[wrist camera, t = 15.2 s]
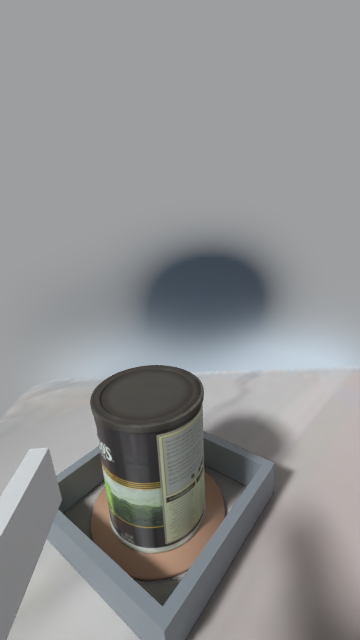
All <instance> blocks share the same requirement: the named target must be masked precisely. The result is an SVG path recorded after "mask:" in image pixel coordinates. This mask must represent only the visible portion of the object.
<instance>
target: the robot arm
mask: <svg viewBox="0 0 360 640" xmlns="http://www.w3.org/2000/svg"><path fill="white" fill-rule="evenodd" d="M61 501H62V497H61V493H60V489H59V486H58V482H57V478H56V474H55V470H54V466H53V463H52V459H51V455H50V451H49V448H36V449H29V451H28V453H27V454H26V456H25V458H24V459H23V461H22V462H21V464H20V466H19V467H18V469H17V471H16V472H15V474H14V475H13V477H12V479H11V480H10V482H9V483H8V485H7V487H6V488H5V490H4V492H3V493H2V495H1V496H0V640H7V637H8V635H9V632H10V629H11V627H12V624H13V622H14V619H15V617H16V614H17V612H18V609H19V607H20V604H21V602H22V599H23V597H24V594H25V592H26V589H27V587H28V584H29V582H30V579H31V577H32V574H33V572H34V569H35V567H36V564H37V561H38V559H39V556H40V554H41V551H42V549H43V546H44V544H45V541H46V539H47V536H48V534H49V531H50V529H51V526H52V524H53V521H54V519H55V516H56V514H57V511H58V509H59V506H60V504H61Z"/></svg>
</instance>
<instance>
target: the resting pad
mask: <svg viewBox="0 0 360 640" xmlns="http://www.w3.org/2000/svg"><path fill="white" fill-rule="evenodd" d="M204 481H205V499H206V512H205V517H204V520H203V522H202V525H201V527H200V528H199V530H198V531H197V532H196V534H195V535H194V536H193V537H192V538H191V539H190V540H189V541H187V542H186V543H185V544H183V545H181V546H180V547H178V548H176V549H174V550H171V551H168V552H163V553H153V554H151V553H143V552H139V551H136V550H133V549H131V548H129V547H127V546H126V545H124V544H123V543H122V542H121V541H120V540H119V539H118V538H117V536H116V535H115V533H114V532H113V530H112V527H111V524H110V518H109V507H108V501H107V494H106V487H104V488H103V490H102V491H101V493H100V494H99V496H98V498H97V500H96V502H95V505H94V507H93V511H92V515H91V533H92V538H93V542H94V543H95V544H96V545H97V546H98V547H99V548H100V549H101V550H102V551H104V552H105V553H106V554H107V555H108V556H109V557H110V558H111V559H112V560H113V561H114V562H115V563H116V564H118V565H119V566H120V567H121V568H122V569H123V570H124V571H125V572H126V573H127V574H128V575H129V576H130V577H131V578H136V579H140V580H161V579H166V578H170V577H174V576H177V575H179V574H182V573H184V572H186V571H188V570H189V568H190V567H191V565H192V564H193V563H194V561H195V560H196V558H197V557H198V555H199V554H200V553H201V551H202V550H203V548H204V547H205V545H206V544H207V543H208V541H209V540H210V538H211V537H212V536H213V534H214V533H215V531H216V530H217V528H218V527H219V526H220V524H221V523H222V521H223V520H224V518H225V507H224V500H223V496H222V493H221V490H220V488H219V487H218V485H217V483H216V482H215V480H214V479H213V478H212V477H211V476H210V475H209V474H208V473H207V472H206V471H205V470H204Z"/></svg>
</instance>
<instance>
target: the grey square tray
mask: <svg viewBox="0 0 360 640" xmlns="http://www.w3.org/2000/svg"><path fill="white" fill-rule="evenodd" d="M203 447H204V465H206V466H208V467H210V468H212V469H214V470H216V471H218V472H220V473H222V474H224V475H226V476H227V477H229V478H231V479H233V480H235V481H237V482H239V483H241V484H243V485H245V486H247V487H246V489H245V490H244V491H243V493H242V494H241V496H240V497H239V498H238V500H237V501H236V503H235V504H234V506H233V507H232V508H231V510H230V511H229V513H228V514H227V516H226V517H225V518H224V520H223V521H222V523H221V524H220V526H219V527H218V528H217V530H216V531H215V533H214V534H213V536H212V537H211V538H210V540H209V541H208V543H207V544H206V545H205V547H204V548H203V550H202V551H201V553H200V554H199V555H198V557H197V558H196V560H195V561H194V563H193V564H192V565H191V567H190V568H189V570H188V571H187V573H186V574H185V575H184V577H183V578H182V580H181V581H180V583H179V584H178V585H177V587H176V588H175V590H174V591H173V593H172V594H171V595H170V597H169V598H168V600H167V601H166V602H165V604H164V605H163V606H162V605H160V604H159V603H158V602H157V601H156V600H155V599H154V598H153V597H152V596H151V595H150V594H149V593H148V592H147V591H145V590H144V589H143V588H142V587H141V586H140V585H139V584H138V583H137V582H136V581H135V580H134V579H133V578H131V577H130V576H129V575H128V574H127V573H126V572H125V571H124V570H123V569H122V568H121V567H120V566H119V565H118V564H116V563H115V562H114V561H113V560H112V559H111V558H110V557H109V556H108V555H107V554H106V553H105V552H104V551H102V550H101V549H100V548H99V547H98V546H97V545H96V544H95V543H94V542H93V541H92V540H91V539H90V538H88V537H87V536H86V535H85V534H84V533H83V532H82V531H81V530H80V529H79V528H78V527H77V526H76V525H75V524H73V523H72V522H71V521H70V520H69V519H68V518H67V517H66V516H65V515H64V514H63V513H64V512H65V511H67V510H68V509H69V508H70V507H71V506H73V505H74V504H75V503H76V502H78V501H79V500H80V499H81V498H83V497H84V496H85V495H86V494H87V493H89V492H90V491H91V490H92V489H94V488H95V487H96V486H97V485H98V484H100V483H101V482H102V481H103V480H104V475H103V469H102V463H101V456H100V450H99V446H98V447H97V448H95V449H94V450H92V451H91V452H90V453H88V454H87V455H85V456H84V457H83V458H81V459H80V460H78V461H77V462H75V463H74V464H73V465H71V466H70V467H68V468H67V469H66V470H64V471H63V472H61V473H60V474H58V475H57V476H56V478H57V482H58V486H59V489H60V493H61V497H62V501H61V504H60V506H59V509H58V511H57V514H56V516H55V519H54V521H53V524H52V526H51V529H50V531H49V534H48V536H47V539H48V540H49V541H50V542H51V544H52V545H53V546H54V547H55V548H56V549H57V550H58V551H59V552H60V553H61V554H62V555H63V556H64V557H65V559H66V560H67V561H68V562H69V563H70V564H71V565H72V566H73V567H74V568H75V569H76V570H77V571H78V573H79V574H80V575H81V576H82V577H83V578H84V579H85V580H86V581H87V582H88V583H89V584H90V585H91V586H92V588H93V589H94V590H95V591H96V592H97V593H98V594H99V595H100V596H101V597H102V598H103V599H104V600H105V601H106V603H107V604H108V605H109V606H110V607H111V608H112V609H113V610H114V611H115V612H116V613H117V614H118V615H119V616H120V618H121V619H122V620H123V621H124V622H125V623H126V624H127V625H128V626H129V627H130V628H131V629H132V630H133V631H134V633H135V634H136V635H137V636H138V637H139V638H140V639H141V640H186V638H187V636H188V635H189V633H190V631H191V630H192V628H193V626H194V625H195V623H196V621H197V620H198V618H199V616H200V615H201V613H202V611H203V610H204V608H205V606H206V605H207V603H208V601H209V600H210V598H211V596H212V595H213V593H214V591H215V589H216V588H217V586H218V584H219V583H220V581H221V579H222V578H223V576H224V574H225V573H226V571H227V569H228V568H229V566H230V564H231V563H232V561H233V559H234V558H235V556H236V554H237V553H238V551H239V549H240V548H241V546H242V544H243V543H244V541H245V539H246V538H247V536H248V534H249V533H250V531H251V529H252V528H253V526H254V524H255V523H256V521H257V519H258V518H259V516H260V514H261V513H262V511H263V509H264V507H265V506H266V504H267V502H268V501H269V499H270V497H271V496H272V494H273V492H274V474H275V463H274V462H272V461H269V460H267V459H265V458H263V457H260V456H258V455H256V454H254V453H251V452H249V451H247V450H244V449H242V448H240V447H238V446H235V445H233V444H231V443H229V442H226V441H224V440H222V439H220V438H217V437H215V436H213V435H211V434H208V433H206V432H204V431H203Z"/></svg>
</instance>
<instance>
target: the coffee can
mask: <svg viewBox="0 0 360 640" xmlns="http://www.w3.org/2000/svg"><path fill="white" fill-rule="evenodd" d="M203 397H204V390H203V385H202V383H201V381H200V380H199V379H198V378H197V377H196V376H195V375H193V374H192V373H190V372H188V371H186V370H183V369H180V368H177V367H170V366H163V365H150V366H141V367H136V368H131V369H127V370H124V371H121V372H119V373H116V374H114V375H112V376H110V377H109V378H107V379H106V380H104V381H103V382H102V383H100V384H99V385H98V386H97V387H96V388H95V390H94V391H93V393H92V396H91V400H90V404H91V409H92V413H93V415H94V419H95V425H96V432H97V438H98V444H99V450H100V456H101V463H102V469H103V475H104V481H105V487H106V494H107V501H108V507H109V518H110V524H111V527H112V530H113V532H114V533H115V535H116V536H117V538H118V539H119V540H120V541H121V542H122V543H123V544H124V545H126V546H127V547H129V548H131V549H133V550H136V551H139V552H143V553H151V554H153V553H163V552H168V551H171V550H174V549H176V548H178V547H180V546H181V545H183V544H185V543H186V542H187V541H189V540H190V539H191V538H192V537H193V536H194V535H195V534H196V532H197V531H198V530H199V528H200V527H201V525H202V522H203V520H204V517H205V512H206V499H205V481H204V447H203V407H202V402H203Z"/></svg>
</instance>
